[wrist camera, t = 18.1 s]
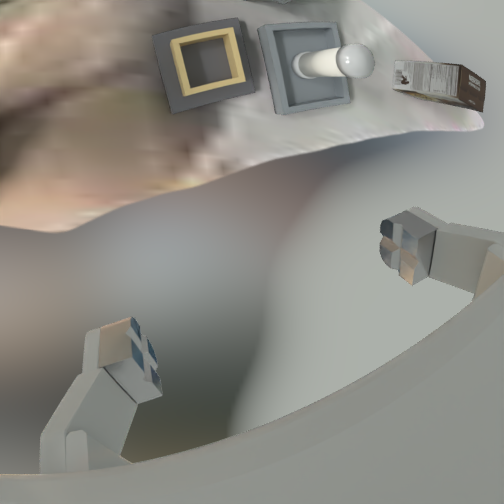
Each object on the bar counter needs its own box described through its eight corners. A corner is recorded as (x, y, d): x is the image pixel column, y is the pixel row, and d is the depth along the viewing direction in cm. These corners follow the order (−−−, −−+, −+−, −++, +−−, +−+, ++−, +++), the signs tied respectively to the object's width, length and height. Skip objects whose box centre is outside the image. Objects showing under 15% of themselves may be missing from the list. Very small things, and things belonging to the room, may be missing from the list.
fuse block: (171, 113, 38) (174, 115, 34) (151, 37, 31) (152, 30, 28) (251, 92, 40) (262, 92, 36) (234, 19, 33) (244, 12, 30)
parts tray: (275, 113, 43) (283, 114, 40) (257, 28, 35) (264, 24, 32) (339, 101, 45) (350, 103, 42) (325, 24, 37) (335, 22, 35)
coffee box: (423, 72, 46) (487, 81, 33) (420, 100, 49) (484, 114, 36) (394, 59, 43) (462, 63, 30) (391, 89, 46) (459, 100, 33)
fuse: (293, 80, 40) (348, 79, 29) (288, 54, 38) (342, 43, 26) (318, 77, 41) (376, 77, 29) (313, 51, 38) (371, 43, 27)
